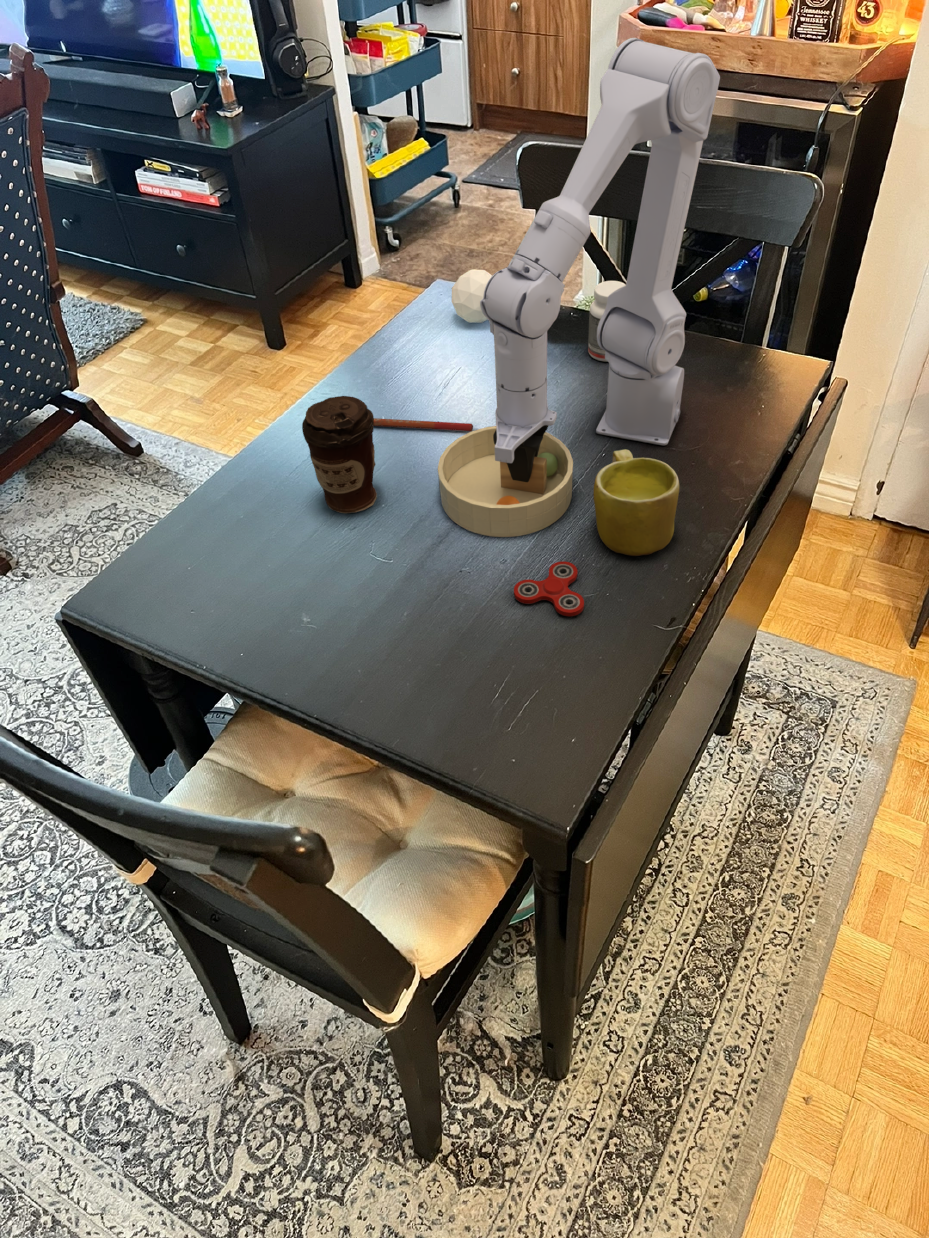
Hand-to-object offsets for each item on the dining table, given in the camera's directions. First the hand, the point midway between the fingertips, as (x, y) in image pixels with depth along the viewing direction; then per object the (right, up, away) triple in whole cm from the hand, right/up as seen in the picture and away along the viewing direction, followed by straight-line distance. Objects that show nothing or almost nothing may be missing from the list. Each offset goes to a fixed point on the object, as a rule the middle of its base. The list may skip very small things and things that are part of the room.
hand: (522, 475), depth 111 cm
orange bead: (-2, -5, -3) cm, 6 cm away
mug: (+13, -7, -4) cm, 15 cm away
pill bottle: (+14, +21, +22) cm, 34 cm away
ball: (-5, +29, +31) cm, 43 cm away
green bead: (+3, +2, +2) cm, 4 cm away
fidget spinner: (+3, -14, -10) cm, 18 cm away
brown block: (0, -1, +1) cm, 2 cm away
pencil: (-15, +8, +12) cm, 21 cm away
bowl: (-2, -2, +2) cm, 3 cm away
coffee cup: (-21, -3, +3) cm, 22 cm away
